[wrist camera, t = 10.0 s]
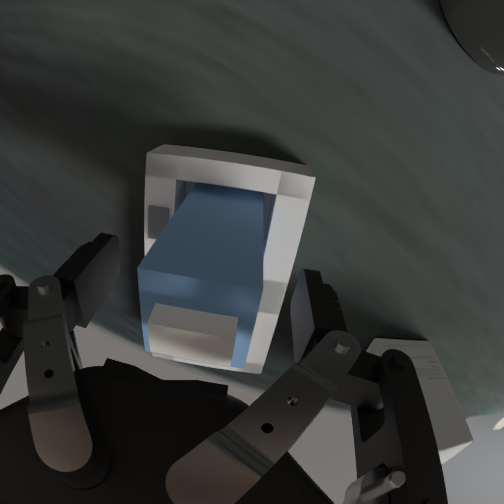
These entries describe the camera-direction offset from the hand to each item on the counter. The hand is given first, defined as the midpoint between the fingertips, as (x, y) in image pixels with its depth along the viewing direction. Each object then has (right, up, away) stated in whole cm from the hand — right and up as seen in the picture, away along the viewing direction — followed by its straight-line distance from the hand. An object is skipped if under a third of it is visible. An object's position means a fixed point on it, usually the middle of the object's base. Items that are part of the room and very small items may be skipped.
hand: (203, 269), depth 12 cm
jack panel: (0, 0, +9) cm, 9 cm away
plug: (0, +3, +6) cm, 7 cm away
